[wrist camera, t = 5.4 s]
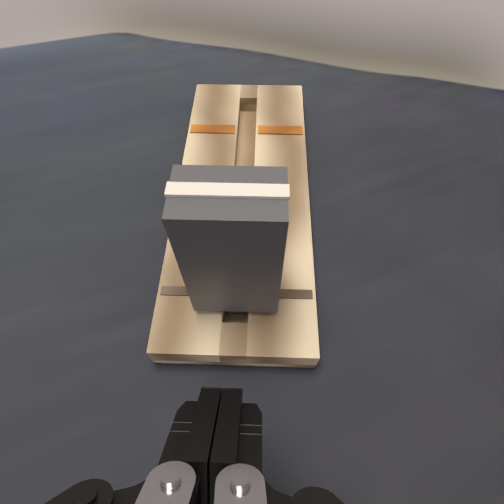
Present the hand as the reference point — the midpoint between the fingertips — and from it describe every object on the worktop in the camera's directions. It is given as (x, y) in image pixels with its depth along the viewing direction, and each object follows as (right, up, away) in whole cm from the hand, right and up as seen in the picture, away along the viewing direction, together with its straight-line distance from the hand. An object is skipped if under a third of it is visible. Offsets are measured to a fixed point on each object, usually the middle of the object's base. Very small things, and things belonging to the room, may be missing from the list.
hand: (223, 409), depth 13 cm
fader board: (0, +10, +16) cm, 19 cm away
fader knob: (0, +2, +11) cm, 12 cm away
